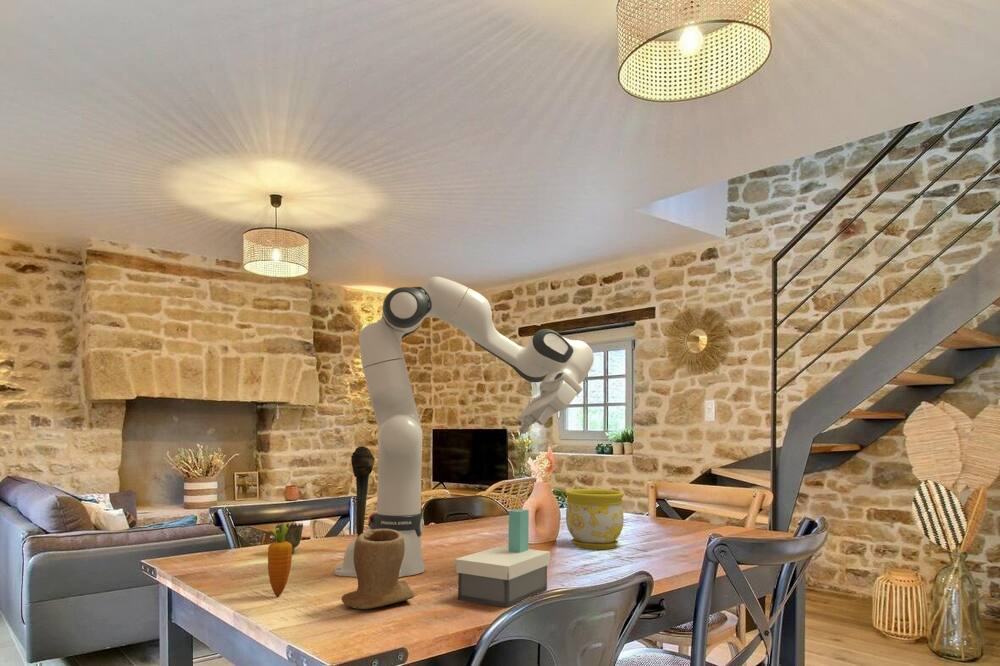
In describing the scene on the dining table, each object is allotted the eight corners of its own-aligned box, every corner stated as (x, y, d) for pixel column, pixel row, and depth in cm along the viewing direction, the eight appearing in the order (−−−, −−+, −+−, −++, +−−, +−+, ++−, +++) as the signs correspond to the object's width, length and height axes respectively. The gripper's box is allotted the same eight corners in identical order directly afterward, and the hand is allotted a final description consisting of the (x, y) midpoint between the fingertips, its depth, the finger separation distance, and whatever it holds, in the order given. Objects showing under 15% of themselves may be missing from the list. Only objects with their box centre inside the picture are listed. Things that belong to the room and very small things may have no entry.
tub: (507, 607, 137) (507, 572, 137) (458, 599, 143) (458, 565, 144) (546, 589, 152) (546, 557, 153) (501, 582, 158) (501, 552, 159)
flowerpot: (554, 546, 206) (555, 491, 208) (582, 538, 221) (582, 487, 223) (608, 553, 196) (607, 496, 198) (633, 545, 211) (633, 491, 213)
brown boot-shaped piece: (363, 618, 128) (366, 537, 130) (334, 605, 137) (337, 529, 139) (428, 605, 138) (430, 529, 140) (397, 593, 147) (399, 523, 149)
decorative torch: (374, 552, 193) (378, 446, 197) (351, 554, 190) (356, 446, 194) (366, 548, 199) (369, 445, 203) (343, 550, 195) (348, 446, 199)
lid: (508, 580, 136) (509, 520, 138) (454, 572, 143) (455, 515, 145) (550, 563, 153) (550, 511, 154) (500, 557, 159) (501, 506, 161)
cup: (296, 556, 186) (298, 526, 187) (270, 556, 186) (272, 526, 187) (304, 551, 193) (306, 523, 194) (279, 551, 193) (280, 522, 194)
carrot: (276, 601, 139) (280, 526, 141) (260, 597, 142) (264, 524, 144) (295, 596, 144) (298, 524, 146) (279, 592, 146) (283, 522, 148)
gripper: (529, 392, 185) (503, 428, 178) (568, 370, 169) (541, 408, 161) (545, 407, 186) (520, 444, 178) (586, 387, 169) (560, 426, 162)
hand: (530, 427), depth 170 cm, fingers open, 8 cm apart
